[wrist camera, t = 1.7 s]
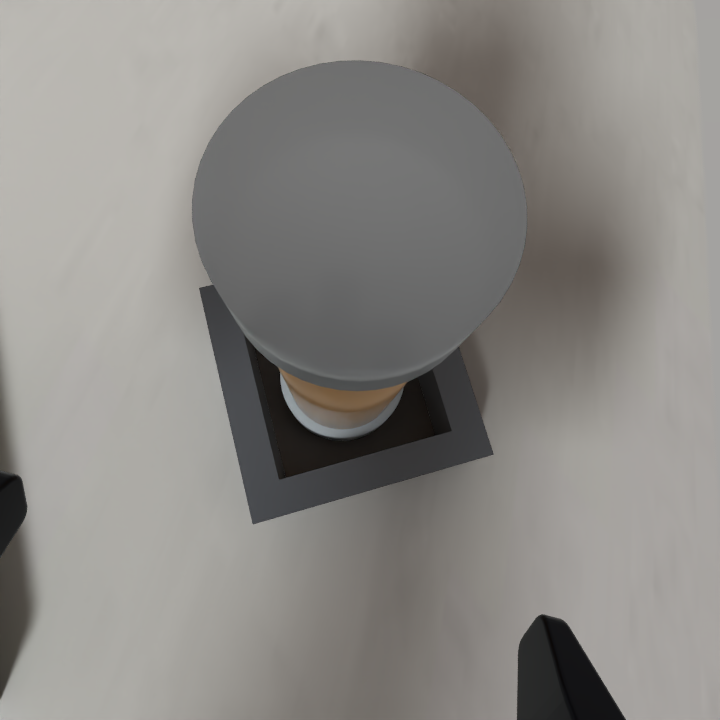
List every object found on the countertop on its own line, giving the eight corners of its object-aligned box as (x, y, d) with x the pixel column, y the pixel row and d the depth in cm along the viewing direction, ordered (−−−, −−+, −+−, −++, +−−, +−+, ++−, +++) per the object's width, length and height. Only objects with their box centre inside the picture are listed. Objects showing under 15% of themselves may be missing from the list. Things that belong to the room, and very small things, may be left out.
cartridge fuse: (412, 423, 22) (574, 318, 7) (300, 454, 21) (233, 408, 7) (380, 317, 23) (468, 34, 8) (272, 344, 22) (161, 94, 8)
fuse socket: (471, 457, 22) (493, 454, 19) (264, 517, 21) (253, 524, 18) (410, 265, 23) (422, 235, 20) (216, 312, 22) (199, 288, 20)
